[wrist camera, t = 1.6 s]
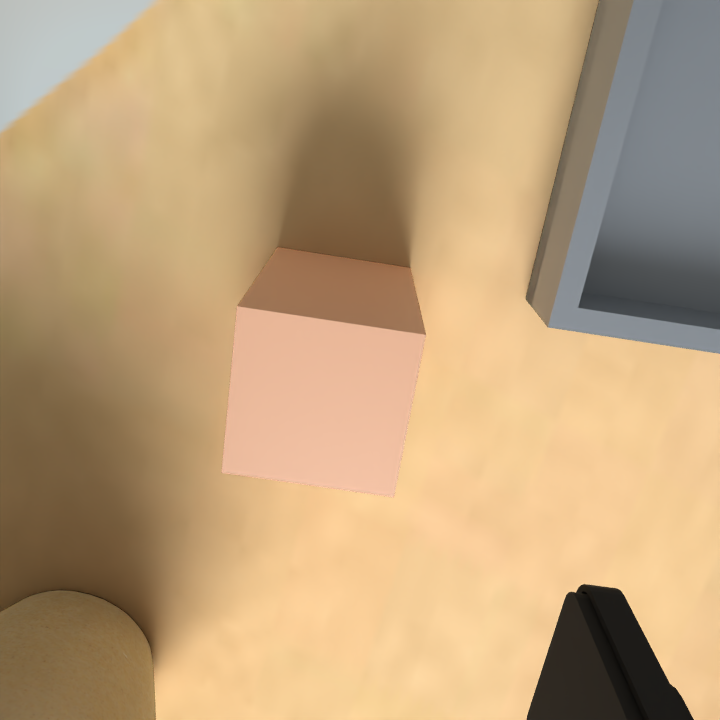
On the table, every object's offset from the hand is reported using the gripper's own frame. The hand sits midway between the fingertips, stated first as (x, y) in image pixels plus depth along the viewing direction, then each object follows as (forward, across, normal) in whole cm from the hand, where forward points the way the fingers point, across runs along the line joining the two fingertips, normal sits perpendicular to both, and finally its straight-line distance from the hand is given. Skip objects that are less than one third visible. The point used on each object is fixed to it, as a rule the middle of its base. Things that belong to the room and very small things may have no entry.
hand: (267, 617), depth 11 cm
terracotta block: (+16, 0, 0) cm, 17 cm away
